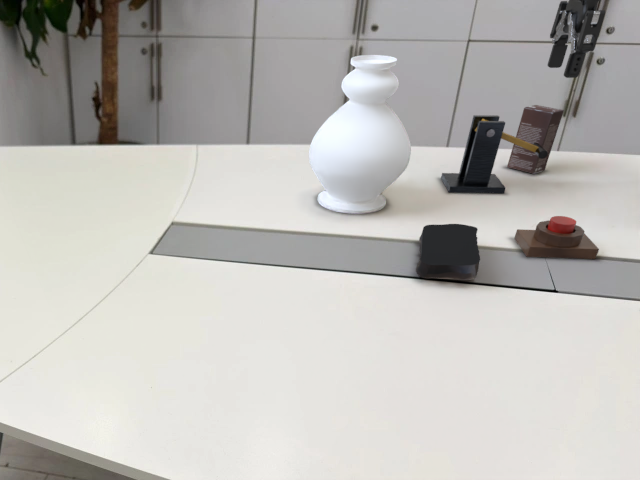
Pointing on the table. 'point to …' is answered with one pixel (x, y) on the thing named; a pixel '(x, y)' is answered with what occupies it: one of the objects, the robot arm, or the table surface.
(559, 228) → the red button
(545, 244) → the button block
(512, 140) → the switch lever
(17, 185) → the table surface
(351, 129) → the decorative vase
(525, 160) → the box
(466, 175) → the switch bracket
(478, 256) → the black sponge
